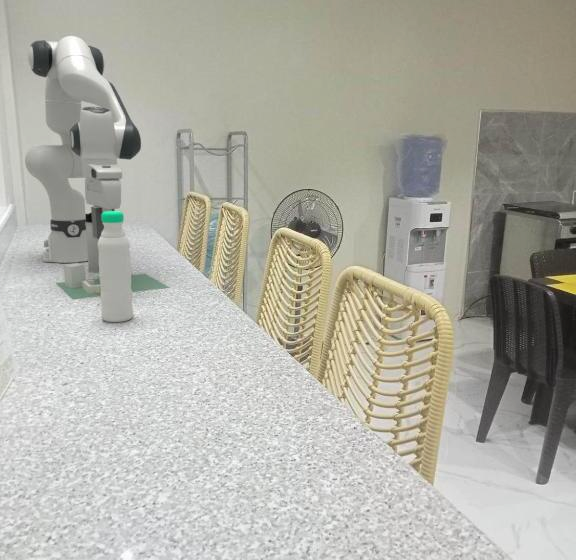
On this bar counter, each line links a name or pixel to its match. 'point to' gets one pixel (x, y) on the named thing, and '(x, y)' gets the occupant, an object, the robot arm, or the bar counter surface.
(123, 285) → the water bottle
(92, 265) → the travel mug
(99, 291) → the board
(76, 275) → the plug
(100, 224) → the plug
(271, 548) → the bar counter surface
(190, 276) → the bar counter surface
